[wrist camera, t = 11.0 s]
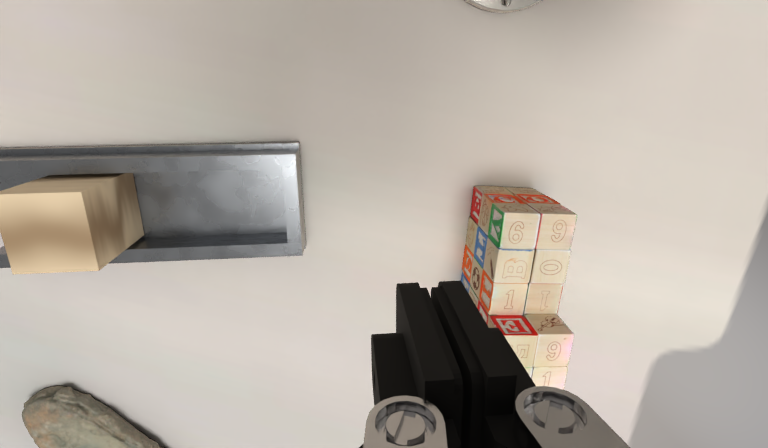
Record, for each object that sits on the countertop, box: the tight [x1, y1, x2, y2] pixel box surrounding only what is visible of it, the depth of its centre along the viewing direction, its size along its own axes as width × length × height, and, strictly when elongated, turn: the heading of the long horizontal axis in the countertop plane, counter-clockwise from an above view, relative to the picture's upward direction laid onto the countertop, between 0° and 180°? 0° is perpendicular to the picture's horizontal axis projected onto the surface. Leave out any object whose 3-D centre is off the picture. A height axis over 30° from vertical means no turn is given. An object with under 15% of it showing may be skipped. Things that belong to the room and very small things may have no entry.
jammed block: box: [0, 173, 144, 274], centre depth 35 cm, size 6×6×8 cm
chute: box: [0, 142, 306, 268], centre depth 39 cm, size 10×26×4 cm, turn 91°
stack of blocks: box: [461, 186, 577, 390], centre depth 41 cm, size 21×6×12 cm, turn 176°
